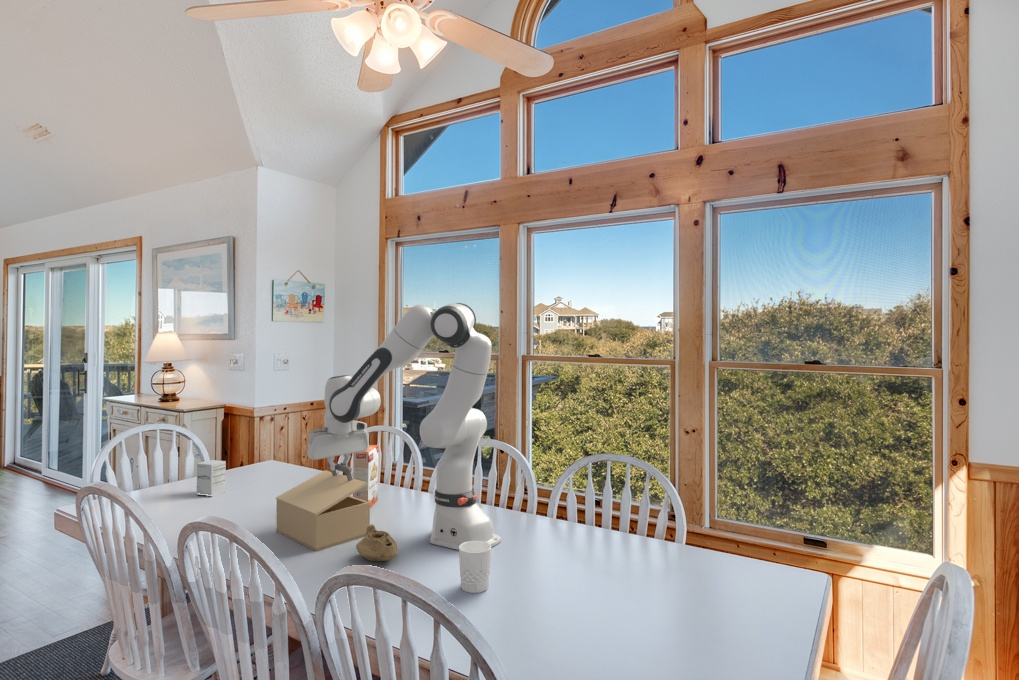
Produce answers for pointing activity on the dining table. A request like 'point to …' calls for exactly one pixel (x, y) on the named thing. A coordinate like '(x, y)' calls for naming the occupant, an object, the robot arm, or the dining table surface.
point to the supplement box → (211, 477)
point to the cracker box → (367, 473)
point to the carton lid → (322, 491)
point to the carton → (324, 523)
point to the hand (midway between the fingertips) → (339, 469)
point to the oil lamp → (377, 545)
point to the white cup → (474, 566)
